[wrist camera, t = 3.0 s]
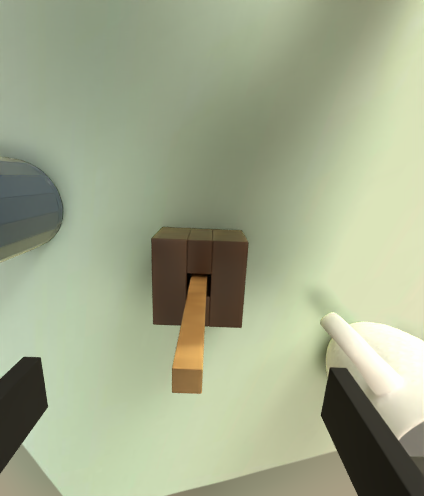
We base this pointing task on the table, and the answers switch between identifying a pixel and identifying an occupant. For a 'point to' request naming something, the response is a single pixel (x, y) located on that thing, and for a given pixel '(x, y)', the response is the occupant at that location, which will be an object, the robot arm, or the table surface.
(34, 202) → the cup
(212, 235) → the stick holder
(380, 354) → the mug
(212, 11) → the table surface
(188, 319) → the stir stick
